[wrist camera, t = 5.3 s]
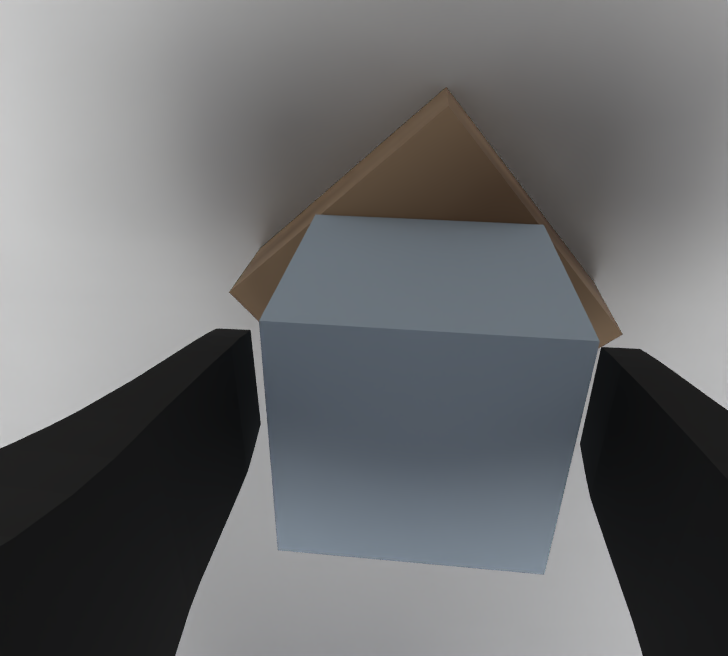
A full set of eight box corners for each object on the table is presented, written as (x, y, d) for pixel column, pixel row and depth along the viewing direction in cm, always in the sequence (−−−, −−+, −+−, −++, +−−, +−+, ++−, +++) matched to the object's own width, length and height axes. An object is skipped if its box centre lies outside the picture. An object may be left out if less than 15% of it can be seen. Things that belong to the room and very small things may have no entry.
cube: (544, 224, 12) (600, 341, 8) (512, 410, 14) (543, 574, 10) (315, 214, 12) (258, 320, 8) (320, 397, 14) (278, 550, 10)
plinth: (590, 276, 15) (622, 334, 13) (407, 393, 18) (402, 462, 15) (445, 85, 13) (448, 106, 11) (263, 243, 16) (228, 292, 13)
